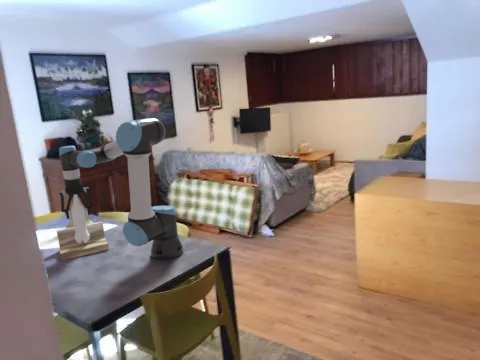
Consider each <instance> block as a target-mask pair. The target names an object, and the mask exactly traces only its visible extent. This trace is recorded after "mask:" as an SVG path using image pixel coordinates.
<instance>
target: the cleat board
mask: <svg viewBox="0 0 480 360" xmlns="http://www.w3.org/2000/svg"><path fill="white" fill-rule="evenodd" d="M103 224H104V222H103V221H97V222H93V223H91V224H86V227H87V230H88V233H89V234H90V239H89V241H87V242H86V243H84V242H83V241H82V243H81V244H79V243H77V242H76V240H75V227H70V228H66V227H65V228H61V229H57V230H56V234H57V242H58V246H59V254H60V259H61V261H64V260H68V259H73V258H79V257H81V256H86V255H91V254H95V253H100V252H104V251H109V249H110V248H109V243H108V241H107V238H106V236H105V235H106V234H105V229H104V225H103Z"/></svg>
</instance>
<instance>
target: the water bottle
mask: <svg viewBox="0 0 480 360" xmlns="http://www.w3.org/2000/svg"><path fill="white" fill-rule="evenodd" d="M85 208H86V206H85V204H84V203H83V202H82V200H81V198H80V197H79V196H77V194H75V195H73V197H72V199H71V204H70V207H69V211H70V213H71V218H72V223H73V225H74V227H75V240H76V242H77V243H79V244H81V243H82V241H83V242H84V243H86V242H87V241H89V239H90V234H89V233H88V230H87V227H86V223H87V217H86V211H85Z"/></svg>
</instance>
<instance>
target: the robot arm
mask: <svg viewBox="0 0 480 360" xmlns="http://www.w3.org/2000/svg"><path fill="white" fill-rule="evenodd" d="M165 137H166V127H165V126H164V124H163V122H162V121H161V120H159V119H158V118H154V117H147V118H141V119H134V120H133V119H131V120H129V121H125V122H123V123H121V124H120V125H119V126H118V127H117V130H116V132H115V140H113V141H111V142H108V143H107V144H104V145H102V146H99V147H95V148H90V149H84V150H77V148H76V146H75V145H67V146H66V145H65V146H61V147H59V148H58V152H59V160H60V165H61V170H62V176H63V179H64V180H63V181H64V188H65V189H64V190H63V191H61V190H60V191H59V193H58V194H59V196H60V207H61V208H60V209H61V213H65V215H66V219H68V220H69V222H70V224H71V225H72V220H71V214H70V208H71V204H72V197H73V195H75V194H77V196H79V197H80V198H79V199H80V201H81V202H82V204H83V205H84V207H85V210H86V217H87V222H89V220H90V219H89V216H90V215H91V210H90V208H93V206H94V204H93V201H92V198H91V194H90V187H89V186H87V187H84V186H83V184H82V178H81V172H80V168H85V169H86V168H92V167H93V166H95V165H98V164H100V163H101V164H102V163H105V162H110V161H113V160H115V159H116V158H118V157H121V156H122V155H124V156H125V157H126V158H127V159H126V160H127V172H128V185H129V186H128V187H129V198H130V199H129V201H130V211H129V212H128V214H127V222H125V223H124V225H123V227H122V233H123V235H124V236H123V237H124V238H125V240H126V241H127V243H130V244H131V245H132V246H135V247H141V246H143V245H147V244H148V243H150V242H151V241H152V244H151V247H150V248H151V249H150V254H151V258H153V259H154V260H163V261H164V260H171V259H175V258H177V257H179V256H182V254H183V253H184V246H183V244H182V241H181V239H180V238H179V234H178V223H177V214H176V211H175V208H174V207H173V206H170V205H154V206H152V199H151V198H152V196H151V195H152V193H151V180H150V179H151V178H150V177H151V176H150V160H149V157H150V156H151V154H152V153H153V150H152V149H153V146H156V145H158V144H160V143H162V142H163V140H164V139H165ZM83 191H84V192H85V194H86V196H87V199H88V203H89V204H88V203H87V200H85V198H84V196H83V195H82V193H83ZM65 194H66V195H68V198H67V199H68V200H67V203H66V207H65V197H64V196H65Z"/></svg>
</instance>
